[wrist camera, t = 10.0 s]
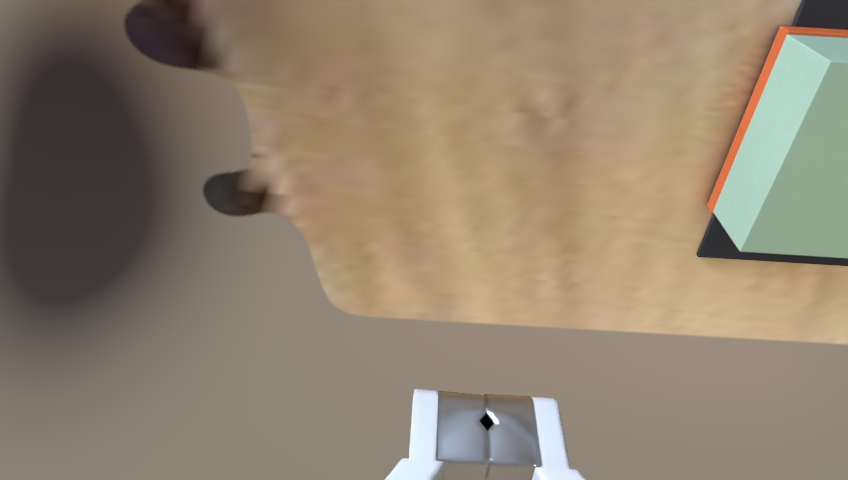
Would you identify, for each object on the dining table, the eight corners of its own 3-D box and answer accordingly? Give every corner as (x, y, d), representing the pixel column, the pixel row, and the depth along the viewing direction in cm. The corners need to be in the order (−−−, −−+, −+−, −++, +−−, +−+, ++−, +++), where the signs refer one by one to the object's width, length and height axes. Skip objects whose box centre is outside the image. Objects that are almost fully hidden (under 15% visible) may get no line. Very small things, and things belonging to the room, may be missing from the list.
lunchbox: (736, 259, 36) (874, 268, 36) (836, 48, 28) (1013, 59, 28) (704, 211, 40) (826, 218, 40) (782, 18, 32) (934, 27, 32)
